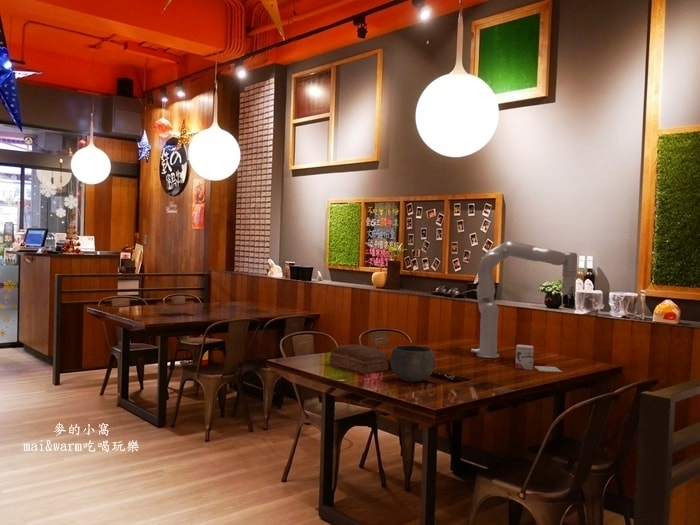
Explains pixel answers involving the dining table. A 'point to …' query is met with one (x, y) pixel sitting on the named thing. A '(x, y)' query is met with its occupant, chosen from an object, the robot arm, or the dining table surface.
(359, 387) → the dining table surface
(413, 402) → the dining table surface
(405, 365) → the bowl
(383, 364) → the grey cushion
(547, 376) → the dining table surface
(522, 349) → the ink box
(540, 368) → the mat
